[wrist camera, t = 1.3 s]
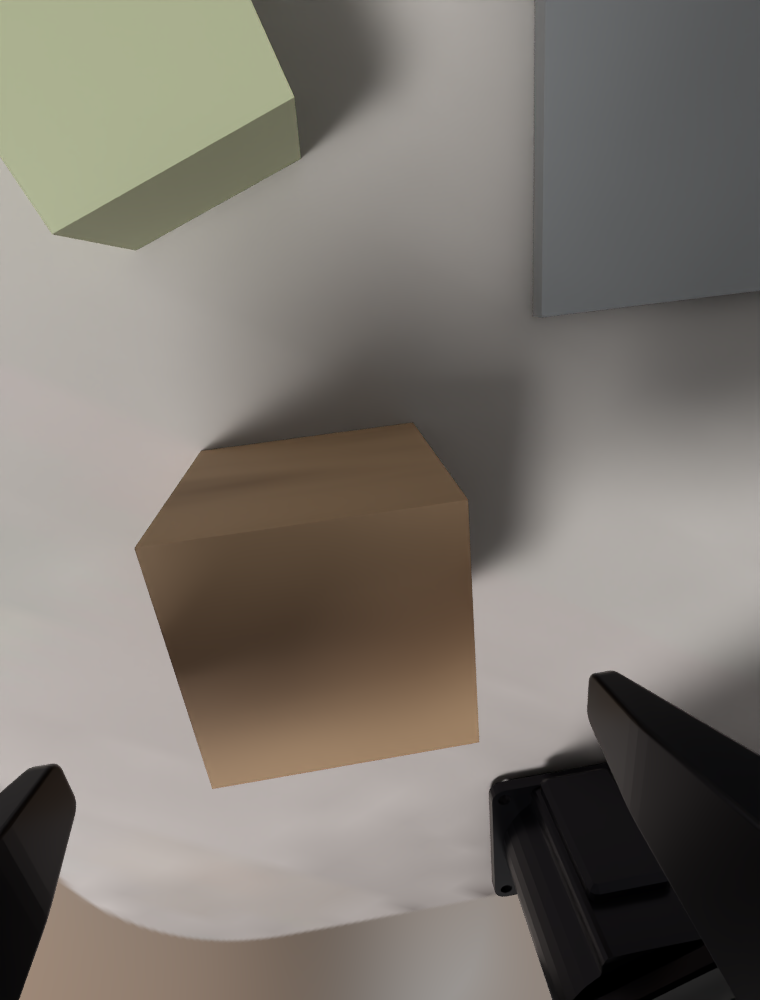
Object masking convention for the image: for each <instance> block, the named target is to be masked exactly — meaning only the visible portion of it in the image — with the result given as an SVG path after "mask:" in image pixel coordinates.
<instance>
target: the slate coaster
mask: <svg viewBox="0 0 760 1000" xmlns="http://www.w3.org/2000/svg"><path fill="white" fill-rule="evenodd" d="M753 291H760V0H535V43H534V205H533V316H535V317H541V318H542V317H550V316H558V315H566V314H574V313H582V312H591V311H599V310H607V309H615V308H623V307H631V306H639V305H648V304H656V303H664V302H672V301H680V300H688V299H696V298H705V297H713V296H721V295H729V294H737V293H745V292H753Z"/></svg>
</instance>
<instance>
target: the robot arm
mask: <svg viewBox="0 0 760 1000" xmlns="http://www.w3.org/2000/svg"><path fill="white" fill-rule="evenodd" d="M587 713H588V718H589V722H590V724H591V727H592V729H593V731H594V733H595V736H596V738H597V740H598V742H599V745H600V747H601V749H602V751H603V754H604V756H605V758H606V760H607V763H604V764H598V765H592V766H587V767H581V768H576V769H570V770H565V771H559V772H553V773H548V774H542V775H537V776H531V777H526V778H520V779H515V780H509V781H503V782H499V783H496V784H495V785H493V786H492V787H491V789H490V791H489V809H490V836H491V864H492V883H493V886H494V889H495V892H496V894H497V895H498V896H502V897H503V896H510V895H515V894H518V898H519V901H520V904H521V907H522V910H523V913H524V916H525V918H526V922H527V925H528V928H529V931H530V934H531V937H532V940H533V943H534V946H535V949H536V952H537V955H538V958H539V961H540V964H541V967H542V970H543V973H544V976H545V979H546V982H547V985H548V988H549V991H550V994H551V997H552V1000H760V755H759V754H757V753H755V752H754V751H752V750H750V749H748V748H747V747H745V746H743V745H742V744H740V743H738V742H736V741H735V740H733V739H731V738H730V737H728V736H726V735H724V734H723V733H721V732H719V731H718V730H716V729H714V728H712V727H711V726H709V725H707V724H706V723H704V722H702V721H700V720H699V719H697V718H695V717H694V716H692V715H690V714H688V713H687V712H685V711H683V710H682V709H680V708H678V707H676V706H675V705H673V704H671V703H669V702H668V701H666V700H664V699H663V698H661V697H659V696H657V695H656V694H654V693H652V692H651V691H649V690H647V689H645V688H644V687H642V686H640V685H639V684H637V683H635V682H633V681H632V680H630V679H628V678H627V677H625V676H623V675H621V674H620V673H618V672H616V671H605V672H599V673H594V674H592V675H591V676H590V678H589V686H588V704H587ZM75 812H76V800H75V796H74V794H73V792H72V790H71V788H70V785H69V783H68V781H67V779H66V777H65V775H64V773H63V770H62V769H61V767H60V766H59V765H57V764H48V765H42V766H36V767H32V768H29V769H28V770H26V771H25V772H24V773H23V774H21V775H20V776H19V777H18V778H17V779H16V780H14V781H13V782H12V783H11V784H10V785H9V786H7V787H6V788H5V789H4V790H3V791H2V792H1V793H0V1000H19V998H20V995H21V992H22V990H23V987H24V984H25V981H26V978H27V976H28V973H29V970H30V967H31V965H32V962H33V959H34V956H35V953H36V951H37V948H38V945H39V942H40V939H41V936H42V933H43V930H44V928H45V925H46V922H47V919H48V915H49V912H50V908H51V905H52V901H53V898H54V894H55V890H56V886H57V882H58V878H59V874H60V871H61V867H62V863H63V859H64V855H65V851H66V847H67V844H68V840H69V836H70V832H71V828H72V824H73V820H74V816H75Z"/></svg>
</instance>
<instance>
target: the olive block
mask: <svg viewBox="0 0 760 1000" xmlns="http://www.w3.org/2000/svg"><path fill="white" fill-rule="evenodd" d="M0 157H1V159H2V160H3V162H4V163H5V165H6V166H7V168H8V169H9V171H10V172H11V174H12V175H13V177H14V178H15V180H16V181H17V183H18V184H19V186H20V187H21V189H22V190H23V192H24V193H25V194H26V196H27V197H28V199H29V200H30V202H31V203H32V205H33V206H34V208H35V209H36V211H37V212H38V214H39V215H40V217H41V218H42V220H43V221H44V223H45V224H46V226H47V227H48V229H49V230H50V232H51V233H52V234H54V235H59V236H64V237H69V238H74V239H80V240H85V241H90V242H95V243H100V244H105V245H111V246H116V247H121V248H126V249H131V250H138V249H140V248H141V247H143V246H145V245H147V244H149V243H150V242H152V241H154V240H156V239H158V238H159V237H161V236H163V235H165V234H167V233H168V232H170V231H172V230H174V229H176V228H177V227H179V226H181V225H183V224H185V223H186V222H188V221H190V220H192V219H193V218H195V217H197V216H199V215H201V214H202V213H204V212H206V211H208V210H210V209H211V208H213V207H215V206H217V205H219V204H220V203H222V202H224V201H226V200H228V199H229V198H231V197H233V196H235V195H237V194H238V193H240V192H242V191H244V190H246V189H247V188H249V187H251V186H253V185H255V184H256V183H258V182H260V181H262V180H264V179H265V178H267V177H269V176H271V175H273V174H274V173H276V172H278V171H280V170H282V169H283V168H285V167H287V166H289V165H291V164H292V163H294V162H296V161H298V160H300V159H301V154H300V145H299V135H298V126H297V116H296V107H295V98H294V95H293V93H292V91H291V88H290V86H289V84H288V82H287V79H286V77H285V75H284V73H283V71H282V68H281V66H280V64H279V62H278V59H277V57H276V55H275V53H274V51H273V48H272V46H271V44H270V42H269V39H268V37H267V35H266V33H265V31H264V28H263V26H262V24H261V22H260V19H259V17H258V15H257V13H256V11H255V8H254V6H253V4H252V2H251V0H0Z"/></svg>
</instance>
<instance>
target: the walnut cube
mask: <svg viewBox="0 0 760 1000" xmlns="http://www.w3.org/2000/svg"><path fill="white" fill-rule="evenodd" d="M135 551H136V555H137V558H138V561H139V564H140V567H141V570H142V573H143V576H144V579H145V582H146V585H147V589H148V592H149V595H150V598H151V601H152V604H153V607H154V610H155V613H156V616H157V619H158V622H159V626H160V629H161V632H162V635H163V638H164V641H165V644H166V647H167V650H168V653H169V656H170V659H171V663H172V666H173V669H174V672H175V675H176V678H177V681H178V684H179V687H180V690H181V693H182V696H183V700H184V703H185V706H186V709H187V712H188V715H189V718H190V721H191V724H192V727H193V730H194V733H195V737H196V740H197V743H198V746H199V749H200V752H201V755H202V758H203V761H204V764H205V767H206V770H207V774H208V777H209V780H210V783H211V786H212V789H215V788H221V787H226V786H232V785H238V784H244V783H249V782H255V781H261V780H266V779H272V778H278V777H283V776H289V775H295V774H301V773H306V772H312V771H318V770H323V769H329V768H335V767H340V766H346V765H352V764H358V763H363V762H369V761H375V760H380V759H386V758H392V757H397V756H403V755H409V754H415V753H420V752H426V751H432V750H437V749H443V748H449V747H454V746H460V745H466V744H472V743H477V742H479V729H478V707H477V685H476V663H475V641H474V619H473V598H472V576H471V554H470V532H469V510H468V499H467V498H466V496H465V495H464V493H463V492H462V491H461V489H460V488H459V486H458V485H457V484H456V482H455V481H454V479H453V478H452V477H451V475H450V474H449V472H448V471H447V470H446V468H445V467H444V465H443V464H442V463H441V461H440V460H439V458H438V457H437V456H436V454H435V453H434V451H433V450H432V449H431V447H430V446H429V444H428V443H427V442H426V440H425V439H424V437H423V436H422V435H421V433H420V432H419V430H418V429H417V428H416V426H415V425H414V423H413V422H412V423H405V424H398V425H390V426H383V427H375V428H368V429H360V430H353V431H345V432H338V433H331V434H323V435H316V436H308V437H301V438H293V439H286V440H278V441H271V442H263V443H256V444H249V445H241V446H234V447H226V448H219V449H211V450H204V451H201V452H200V453H199V455H198V456H197V458H196V459H195V460H194V462H193V463H192V465H191V466H190V468H189V469H188V471H187V472H186V474H185V475H184V477H183V478H182V479H181V481H180V482H179V484H178V485H177V487H176V488H175V490H174V491H173V493H172V494H171V496H170V497H169V498H168V500H167V501H166V503H165V504H164V506H163V507H162V509H161V510H160V512H159V513H158V515H157V516H156V517H155V519H154V520H153V522H152V523H151V525H150V526H149V528H148V529H147V531H146V532H145V533H144V535H143V536H142V538H141V539H140V541H139V542H138V544H137V545H136V547H135Z"/></svg>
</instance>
